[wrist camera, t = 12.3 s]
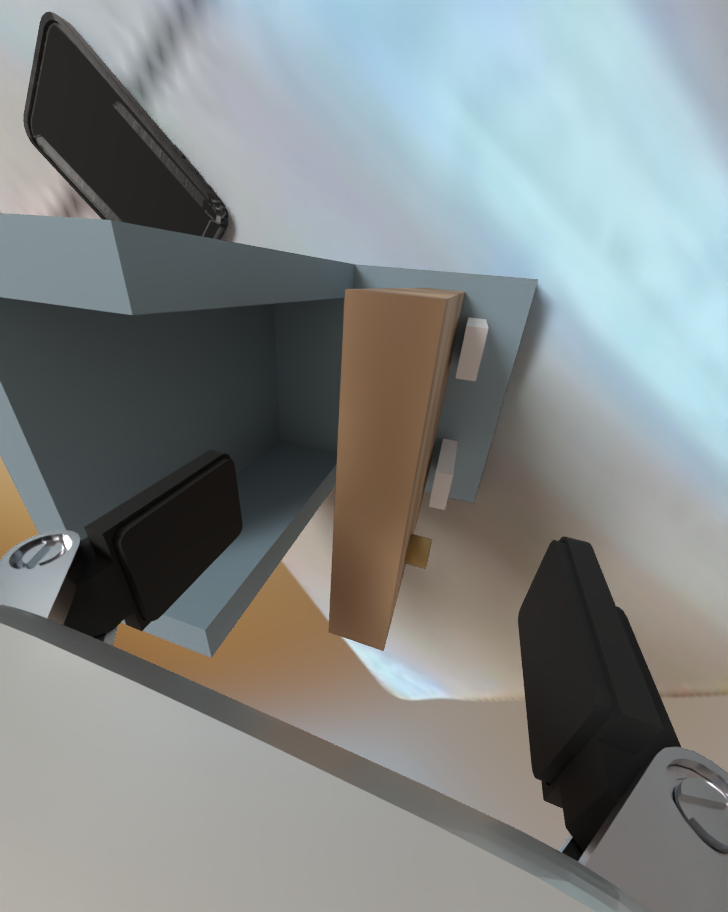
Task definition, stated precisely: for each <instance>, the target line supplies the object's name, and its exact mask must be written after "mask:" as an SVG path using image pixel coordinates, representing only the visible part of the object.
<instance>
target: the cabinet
mask: <svg viewBox="0 0 728 912" xmlns="http://www.w3.org/2000/svg"><path fill="white" fill-rule="evenodd" d="M537 282H538V279H527V278H514V277H502V276H490V275H477V274H465V273H453V272H440V271H428V270H416V269H403V268H391V267H379V266H366V265H355V264H349V263H344V262H338V261H333V260H327V259H322V258H316V257H311V256H305V255H300V254H294V253H289V252H283V251H278V250H272V249H267V248H261V247H256V246H250V245H245V244H239V243H234V242H228V241H223V240H218V239H212V238H207V237H201V236H196V235H190V234H185V233H179V232H174V231H168V230H163V229H157V228H152V227H146V226H141V225H135V224H130V223H124V222H119V221H113V220H102V219H86V218H69V217H53V216H36V215H20V214H3V213H0V456H1V458H2V460H3V462H4V464H5V466H6V468H7V470H8V472H9V474H10V476H11V478H12V480H13V482H14V484H15V486H16V488H17V491H18V493H19V494H20V497H21V498H22V500H23V502H24V505H25V507H26V508H27V511H28V513H29V515H30V517H31V519H32V521H33V523H34V525H35V527H36V529H37V531H38V533H39V534H42V533H46V532H50V531H57V530H68V531H73V532H75V533H77V534H78V535H79V537H80V538H81V541H82V540H83V539H85V538H86V537H88V536H87V533H86V531H85V529H84V527H85V526H87V525H88V524H90V523H92V522H93V521H95V520H96V519H98V518H100V517H101V516H103V515H105V514H106V513H108V512H109V511H111V510H113V509H114V508H116V507H118V506H119V505H121V504H122V503H124V502H126V501H127V500H129V499H131V498H132V497H134V496H135V495H137V494H139V493H140V492H142V491H144V490H145V489H147V488H148V487H150V486H152V485H153V484H155V483H157V482H158V481H160V480H161V479H163V478H165V477H166V476H168V475H169V474H171V473H173V472H174V471H176V470H178V469H179V468H181V467H182V466H184V465H186V464H187V463H189V462H191V461H192V460H194V459H195V458H197V457H199V456H200V455H202V454H204V453H205V452H207V451H209V450H213V451H217V452H221V453H225V454H228V455H229V456H230V457H231V460H233V462H234V464H235V471H236V479H237V486H238V493H239V501H240V508H241V516H242V523H243V527H242V531H241V533H240V535H239V536H238V537H237V538H236V539H235V540H234V541H233V542H232V543H231V544H230V545H229V546H228V548H227V549H226V550H225V551H224V552H223V553H222V554H221V555H220V556H219V557H218V558H217V559H216V560H215V561H214V562H213V563H212V564H211V565H210V566H209V567H208V568H207V569H206V570H205V571H204V572H203V573H202V574H201V576H200V577H199V578H198V579H197V580H196V581H195V582H194V583H193V584H192V585H191V586H190V587H189V588H188V589H187V590H186V591H185V592H184V593H183V594H182V595H181V596H180V597H179V598H178V599H177V600H176V601H175V602H174V604H173V605H172V606H171V607H170V608H169V609H168V610H167V611H166V612H165V613H164V614H163V615H162V616H161V617H160V618H159V619H157V620H155V621H151V623H150V624H149V625H148V626H147V627H146V628H145V629H144V630H143V631H144V632H147V633H150V634H152V635H155V636H157V637H160V638H162V639H165V640H167V641H170V642H173V643H175V644H178V645H180V646H183V647H185V648H188V649H190V650H193V651H195V652H198V653H201V654H203V655H206V656H209V657H211V658H212V656H213V655H214V653H215V652H216V651H217V649H218V648H219V647H220V645H221V644H222V642H223V641H224V639H225V638H226V637H227V635H228V634H229V632H230V631H231V630H232V628H233V627H234V626H235V624H236V623H237V621H238V620H239V619H240V617H241V616H242V614H243V613H244V612H245V610H246V609H247V607H248V606H249V605H250V603H251V602H252V600H253V599H254V597H255V596H256V595H257V593H258V592H259V591H260V589H261V588H262V586H263V585H264V584H265V582H266V581H267V579H268V578H269V577H270V575H271V574H272V572H273V571H274V569H275V568H276V567H277V565H278V564H279V563H280V561H281V560H282V558H283V557H284V556H285V554H286V553H287V551H288V550H289V549H290V547H291V546H292V544H293V543H294V542H295V540H296V539H297V537H298V536H299V535H300V533H301V532H302V530H303V529H304V528H305V526H306V525H307V523H308V522H309V521H310V519H311V518H312V516H313V515H314V514H315V512H316V511H317V509H318V508H319V507H320V505H321V504H322V502H323V501H324V500H325V498H326V497H327V495H328V494H329V493H330V491H331V490H332V488H333V487H334V486H335V484H336V468H337V447H338V426H339V405H340V384H341V363H342V342H343V322H344V301H345V289H376V288H433V289H443V290H454V291H464V292H465V294H464V299H463V304H462V309H461V314H460V319H459V324H458V329H457V334H456V339H455V344H454V349H453V354H452V359H451V364H450V369H449V374H448V379H447V384H446V389H445V394H444V399H443V404H442V409H441V414H440V419H439V424H438V429H437V434H436V439H435V444H434V449H433V454H432V459H431V464H430V469H429V474H428V479H427V483H426V487H425V491H424V492H426V493H430V494H431V497H430V502H429V507H433V508H437V509H441V510H445V508H446V504H447V500H448V498H452V499H457V500H461V501H466V502H470V503H474V501H475V498H476V494H477V491H478V487H479V484H480V480H481V477H482V473H483V470H484V466H485V463H486V460H487V456H488V453H489V449H490V446H491V442H492V439H493V435H494V432H495V428H496V425H497V421H498V418H499V414H500V411H501V407H502V404H503V400H504V397H505V393H506V390H507V386H508V383H509V379H510V376H511V372H512V369H513V365H514V362H515V359H516V355H517V352H518V348H519V345H520V341H521V338H522V334H523V331H524V327H525V324H526V320H527V317H528V313H529V310H530V306H531V303H532V299H533V296H534V292H535V289H536V285H537ZM122 623H124V624H126V623H125V620H123V621H122Z"/></svg>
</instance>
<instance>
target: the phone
mask: <svg viewBox="0 0 728 912" xmlns="http://www.w3.org/2000/svg"><path fill="white" fill-rule="evenodd" d="M23 121H24V127H25V130H26V133H27V136H28V137H29V139H30V141H31V142H32V144H33V145H34V146H35V147H36V148H37V150H38V151H39V152H40V153H41V154H42V155H43V156H44V157H45V158H46V159H47V160H48V161H49V162H50V164H51V165H52V166H53V167H54V168H55V169H56V170H57V171H58V172H59V173H60V174H61V175H62V177H63V178H64V179H65V180H66V181H67V182H68V183H69V184H70V185H71V186H72V187H73V188H74V189H75V191H76V192H77V193H78V194H79V195H80V196H81V197H82V198H83V199H84V200H85V201H86V202H87V203H88V205H89V206H90V207H91V208H92V209H93V210H94V211H95V212H96V213H97V214H98V215H99V216H100V218H101V219H102V220H113V221H119V222H124V223H130V224H135V225H141V226H146V227H152V228H157V229H163V230H168V231H174V232H179V233H185V234H190V235H196V236H201V237H207V238H212V239H218V240H220V239H221V237H222V235H223V234H224V232H225V230H226V228H227V225H228V214H227V210H226V207H225V205H224V204H223V202H222V201H221V199H220V198H219V197H218V196H217V195H216V194H215V192H214V191H213V190H212V189H211V187H210V186H209V185H208V184H207V183H206V181H204V179H203V178H202V177H201V176H200V175H199V173H198V172H197V170H196V169H195V168H194V167H193V166H192V165H191V163H190V162H189V161H187V160H186V158H185V156H184V155H183V154H182V152H181V151H180V150H179V149H178V148H177V147H176V146H175V145H174V144H173V143H172V142H171V141H170V140H169V138H168V137H167V136H166V135H165V134H164V133H163V131H162V130H161V129H160V128H159V127H158V126H157V124H156V123H155V122H154V121H153V120H152V119H151V117H150V116H149V115H148V114H147V113H146V111H145V110H144V109H143V108H142V107H141V106H140V104H139V103H138V102H137V101H136V100H135V99H134V97H133V96H132V95H131V94H130V93H129V92H128V90H127V89H126V88H125V87H124V86H123V85H122V83H121V82H120V81H119V80H118V79H117V78H116V76H115V75H114V74H113V73H112V72H111V70H110V69H109V68H108V67H107V66H106V65H105V63H104V62H103V61H102V60H101V59H100V58H99V56H98V55H97V54H96V53H95V52H94V51H93V49H92V48H91V47H90V46H89V45H88V44H87V42H86V41H85V40H84V39H83V38H82V36H81V35H80V34H79V33H78V32H77V31H76V29H75V28H74V27H73V26H72V25H71V24H70V23H68V22H67V21H65V20H64V19H62V18H61V17H59V16H58V15H56V14H55V13H52V12H46V13H45V14H44V15H43V16H42V18H41V21H40V25H39V31H38V37H37V42H36V48H35V54H34V59H33V65H32V71H31V76H30V82H29V88H28V93H27V99H26V105H25V110H24V120H23Z"/></svg>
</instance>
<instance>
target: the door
mask: <svg viewBox="0 0 728 912" xmlns="http://www.w3.org/2000/svg"><path fill="white" fill-rule="evenodd" d="M464 294H465V292H464V291H454V290H443V289H433V288H376V289H345V301H344V322H343V342H342V363H341V384H340V405H339V426H338V447H337V468H336V489H335V510H334V531H333V552H332V573H331V593H330V614H329V632H330V633H333V634H336V635H338V636H341V637H344V638H347V639H350V640H353V641H356V642H359V643H362V644H365V645H368V646H371V647H374V648H376V649H379V650H382V651H384V648H385V644H386V640H387V636H388V632H389V628H390V624H391V620H392V616H393V612H394V609H395V605H396V601H397V597H398V593H399V589H400V585H401V581H402V577H403V573H404V569H405V565H406V564H410V565H413V566H417V567H420V568H424V569H426V566H427V561H428V557H429V552H430V547H431V541H432V539H429V538H425V537H421V536H417V535H414V530H415V526H416V522H417V518H418V515H419V511H420V507H421V503H422V499H423V495H424V491H425V487H426V483H427V479H428V474H429V469H430V464H431V459H432V454H433V449H434V444H435V439H436V434H437V429H438V424H439V419H440V414H441V409H442V404H443V399H444V394H445V389H446V384H447V379H448V374H449V369H450V364H451V359H452V354H453V349H454V344H455V339H456V334H457V329H458V324H459V319H460V314H461V309H462V304H463V299H464Z"/></svg>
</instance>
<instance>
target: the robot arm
mask: <svg viewBox="0 0 728 912" xmlns="http://www.w3.org/2000/svg"><path fill="white" fill-rule="evenodd" d="M242 527H243V523H242V516H241V508H240V501H239V493H238V486H237V479H236V471H235V464H234V462H233V460H231V457H230V456H229V455H228V454H225V453H221V452H217V451H213V450H209V451H207V452H205V453H204V454H202V455H200V456H199V457H197V458H195V459H194V460H192V461H191V462H189V463H187V464H186V465H184V466H182V467H181V468H179V469H178V470H176V471H174V472H173V473H171V474H169V475H168V476H166V477H165V478H163V479H161V480H160V481H158V482H157V483H155V484H153V485H152V486H150V487H148V488H147V489H145V490H144V491H142V492H140V493H139V494H137V495H135V496H134V497H132V498H131V499H129V500H127V501H126V502H124V503H122V504H121V505H119V506H118V507H116V508H114V509H113V510H111V511H109V512H108V513H106V514H105V515H103V516H101V517H100V518H98V519H96V520H95V521H93V522H92V523H90V524H88V525H87V526H85V527H84V529H85V531H86V533H87V536H88V537H86V538H85V539H83V540H82V541H81V538H80V537H79V535H78V534H77V533H75V532H73V531H68V530H57V531H50V532H46V533H42V534H39V535H36V536H33V537H31V538H28V539H27V540H25V541H23V542H21V543H19V544H17V545H16V546H14V547H13V548H12V549H10V550H9V551H8V552H7V553H6V554H5V555H4V556H3V557H2V558H1V560H0V912H728V773H727V772H726V771H724V770H723V769H722V768H720V767H719V766H718V765H716V764H715V763H714V762H712V761H711V760H709V759H707V758H705V757H704V756H702V755H700V754H698V753H696V752H694V751H691V750H688V749H684V748H681V746H680V743H679V741H678V738H677V736H676V734H675V731H674V729H673V726H672V724H671V722H670V720H669V717H668V714H667V712H666V710H665V707H664V705H663V702H662V700H661V698H660V695H659V693H658V690H657V688H656V686H655V683H654V681H653V678H652V676H651V674H650V671H649V669H648V666H647V664H646V662H645V659H644V657H643V654H642V652H641V650H640V647H639V645H638V643H637V640H636V638H635V635H634V633H633V631H632V628H631V626H630V623H629V621H628V619H627V617H626V615H625V613H624V611H623V610H622V609H620V608H619V607H616V606H615V603H614V601H613V598H612V596H611V593H610V591H609V588H608V586H607V583H606V581H605V578H604V576H603V573H602V570H601V568H600V565H599V563H598V560H597V558H596V555H595V553H594V550H593V548H592V546H591V544H590V543H588V542H584V541H580V540H576V539H572V538H568V537H562V538H561V539H560V540H559V541H556V540H553V541H552V542H551V543H550V545H549V547H548V549H547V552H546V554H545V556H544V558H543V560H542V562H541V565H540V567H539V569H538V571H537V573H536V575H535V578H534V580H533V582H532V584H531V586H530V588H529V590H528V593H527V595H526V597H525V599H524V601H523V603H522V606H521V608H520V611H519V616H518V625H519V636H520V647H521V657H522V668H523V679H524V689H525V700H526V710H527V720H528V732H529V742H530V753H531V763H532V771H533V774H534V776H535V778H536V779H539V780H541V781H542V790H543V799H544V801H546V802H549V803H551V804H554V805H556V806H558V807H561V808H563V812H564V819H565V826H566V828H567V830H568V831H569V833H570V835H569V836H568V838H567V839H566V841H565V842H564V843H563V845H562V846H561V848H560V849H559V850H556V849H554V848H552V847H550V846H548V845H546V844H545V843H543V842H541V841H539V840H537V839H535V838H533V837H531V836H529V835H528V834H526V833H524V832H522V831H520V830H518V829H515V828H514V827H512V826H510V825H508V824H505V823H503V822H501V821H499V820H497V819H495V818H493V817H490V816H489V815H486V814H484V813H482V812H480V811H478V810H476V809H474V808H472V807H470V806H467V805H465V804H463V803H461V802H458V801H457V800H455V799H453V798H451V797H448V796H446V795H444V794H442V793H440V792H438V791H436V790H434V789H431V788H429V787H427V786H425V785H423V784H421V783H419V782H416V781H414V780H412V779H410V778H407V777H405V776H403V775H400V774H399V773H396V772H394V771H392V770H390V769H387V768H385V767H383V766H381V765H379V764H376V763H374V762H372V761H370V760H368V759H365V758H363V757H361V756H359V755H357V754H354V753H352V752H350V751H348V750H345V749H343V748H341V747H339V746H337V745H334V744H332V743H330V742H328V741H326V740H323V739H321V738H319V737H317V736H314V735H312V734H310V733H308V732H305V731H303V730H301V729H299V728H297V727H294V726H292V725H290V724H288V723H285V722H283V721H281V720H279V719H277V718H274V717H272V716H270V715H268V714H265V713H263V712H261V711H259V710H256V709H254V708H252V707H250V706H247V705H245V704H243V703H241V702H238V701H236V700H234V699H232V698H229V697H227V696H225V695H223V694H220V693H218V692H216V691H214V690H211V689H209V688H207V687H205V686H202V685H200V684H198V683H196V682H193V681H191V680H189V679H187V678H184V677H182V676H180V675H178V674H175V673H173V672H171V671H169V670H166V669H164V668H162V667H160V666H157V665H155V664H153V663H150V662H148V661H146V660H143V659H141V658H139V657H137V656H134V655H132V654H130V653H128V652H125V651H123V650H121V649H118V648H116V647H114V646H113V643H114V639H115V635H116V630H117V626H118V625H119V624H120V623H121V622H122V621H123V620H125V623H126V625H128V626H131V627H133V628H136V629H138V630H140V631H143V630H144V629H145V628H146V627H147V626H148V625H149V624H150V623H151V621H155V620H157V619H159V618H160V617H161V616H162V615H163V614H164V613H165V612H166V611H167V610H168V609H169V608H170V607H171V606H172V605H173V604H174V602H175V601H176V600H177V599H178V598H179V597H180V596H181V595H182V594H183V593H184V592H185V591H186V590H187V589H188V588H189V587H190V586H191V585H192V584H193V583H194V582H195V581H196V580H197V579H198V578H199V577H200V576H201V574H202V573H203V572H204V571H205V570H206V569H207V568H208V567H209V566H210V565H211V564H212V563H213V562H214V561H215V560H216V559H217V558H218V557H219V556H220V555H221V554H222V553H223V552H224V551H225V550H226V549H227V548H228V546H229V545H230V544H231V543H232V542H233V541H234V540H235V539H236V538H237V537H238V536H239V535H240V533H241V531H242Z"/></svg>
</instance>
